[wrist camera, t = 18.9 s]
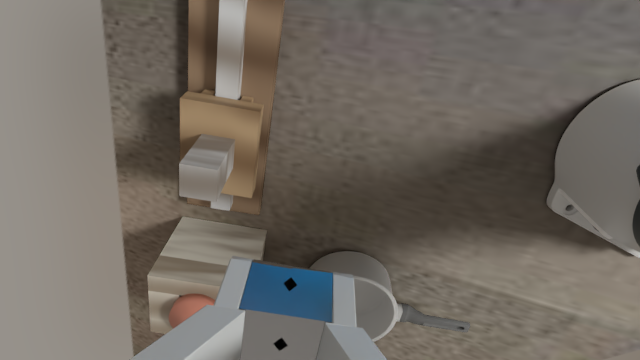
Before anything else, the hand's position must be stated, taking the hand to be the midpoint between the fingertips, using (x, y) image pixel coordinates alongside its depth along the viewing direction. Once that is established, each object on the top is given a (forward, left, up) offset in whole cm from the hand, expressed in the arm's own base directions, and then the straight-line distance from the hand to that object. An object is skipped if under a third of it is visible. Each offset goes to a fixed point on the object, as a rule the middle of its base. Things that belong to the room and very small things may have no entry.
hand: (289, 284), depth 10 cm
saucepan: (-24, +18, -31) cm, 44 cm away
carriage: (+2, +13, -29) cm, 32 cm away
